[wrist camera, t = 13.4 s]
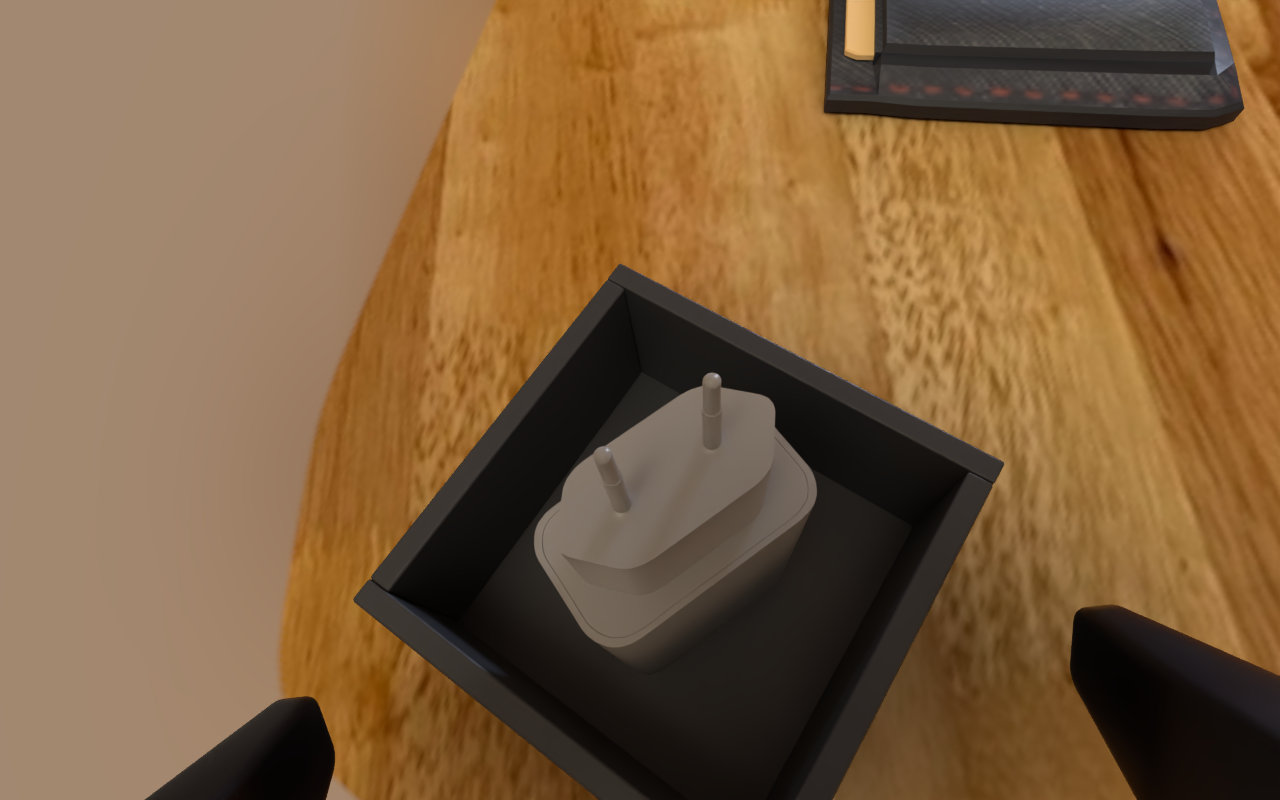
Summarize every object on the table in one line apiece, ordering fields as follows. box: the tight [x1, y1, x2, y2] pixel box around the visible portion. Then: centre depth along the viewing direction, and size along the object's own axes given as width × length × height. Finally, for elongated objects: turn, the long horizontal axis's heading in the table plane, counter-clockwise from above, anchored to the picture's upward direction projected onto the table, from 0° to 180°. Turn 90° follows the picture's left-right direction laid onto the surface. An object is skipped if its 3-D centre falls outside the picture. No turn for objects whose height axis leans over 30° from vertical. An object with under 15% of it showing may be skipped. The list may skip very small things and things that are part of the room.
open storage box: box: [353, 264, 1004, 800], centre depth 19 cm, size 11×11×6 cm
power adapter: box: [534, 373, 817, 674], centre depth 15 cm, size 3×5×12 cm, turn 125°
